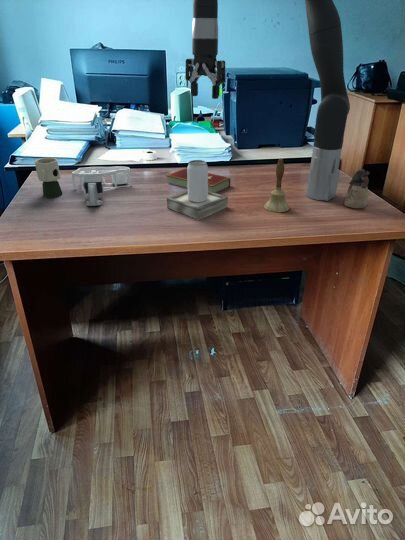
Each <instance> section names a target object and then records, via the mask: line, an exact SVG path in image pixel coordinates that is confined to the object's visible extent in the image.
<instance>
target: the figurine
mask: <svg viewBox="0 0 405 540" xmlns="http://www.w3.org/2000/svg"><path fill="white" fill-rule="evenodd" d="M369 175H370V171H368V170H367V171H366V170H365V169H364V168H363V169H361V168H360V169H358V170H357V171H356V172H354V175H353V176H352V177H351V180H350V181H349V183H348V184H349V186H348V188H347V192H346V194H345V197H344V200H343V204H344V206H345V207H348V208H351V209H364V208H366V206H367V204H368V199H369V197H368V196H369V189H368V185H369V181H370V180H369V177H368V176H369Z"/></svg>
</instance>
